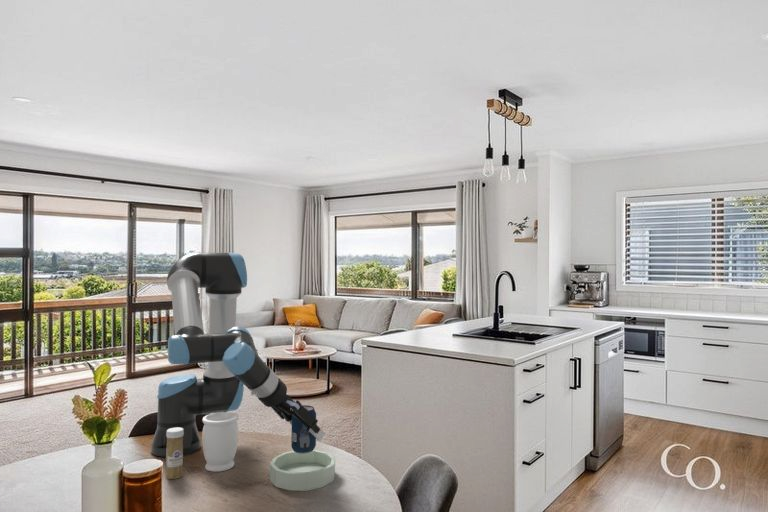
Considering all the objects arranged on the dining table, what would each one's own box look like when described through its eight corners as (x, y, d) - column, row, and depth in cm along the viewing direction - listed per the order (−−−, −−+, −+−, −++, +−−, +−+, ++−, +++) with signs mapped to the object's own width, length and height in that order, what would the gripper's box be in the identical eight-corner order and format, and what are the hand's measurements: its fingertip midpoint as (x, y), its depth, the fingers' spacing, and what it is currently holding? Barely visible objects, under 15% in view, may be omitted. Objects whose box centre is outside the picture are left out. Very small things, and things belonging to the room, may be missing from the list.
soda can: (306, 444, 153) (306, 403, 154) (320, 450, 148) (321, 408, 149) (286, 449, 148) (287, 407, 149) (300, 456, 143) (301, 412, 144)
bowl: (262, 471, 152) (262, 456, 152) (319, 460, 161) (319, 446, 161) (283, 495, 136) (283, 478, 137) (345, 482, 146) (345, 465, 146)
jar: (226, 475, 149) (227, 423, 150) (194, 472, 151) (195, 420, 152) (244, 461, 160) (244, 412, 160) (213, 458, 162) (214, 410, 162)
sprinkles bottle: (171, 481, 145) (172, 432, 145) (162, 477, 148) (163, 429, 148) (186, 475, 149) (186, 428, 149) (177, 471, 151) (177, 425, 151)
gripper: (238, 392, 144) (284, 437, 156) (282, 406, 131) (329, 454, 143) (254, 371, 148) (298, 416, 160) (299, 381, 135) (343, 430, 147)
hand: (313, 434), depth 151 cm, fingers closed on soda can, 7 cm apart
